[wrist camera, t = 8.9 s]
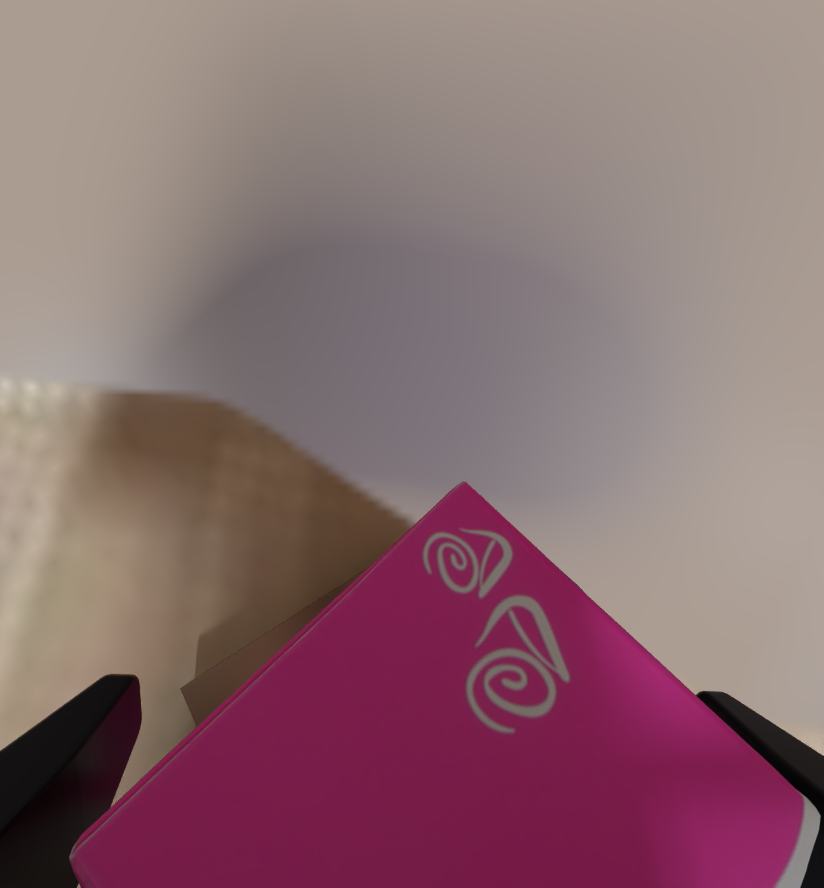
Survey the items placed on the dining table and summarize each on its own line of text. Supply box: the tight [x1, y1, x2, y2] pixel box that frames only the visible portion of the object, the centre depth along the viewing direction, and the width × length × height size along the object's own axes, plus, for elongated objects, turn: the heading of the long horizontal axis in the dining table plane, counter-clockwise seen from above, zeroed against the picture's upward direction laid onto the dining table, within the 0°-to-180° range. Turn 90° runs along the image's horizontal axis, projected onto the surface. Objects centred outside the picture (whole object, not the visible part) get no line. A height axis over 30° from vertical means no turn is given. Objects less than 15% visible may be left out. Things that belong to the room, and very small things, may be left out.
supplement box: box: [69, 482, 820, 888], centre depth 9 cm, size 6×6×12 cm
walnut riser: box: [180, 568, 368, 726], centre depth 15 cm, size 9×9×2 cm
